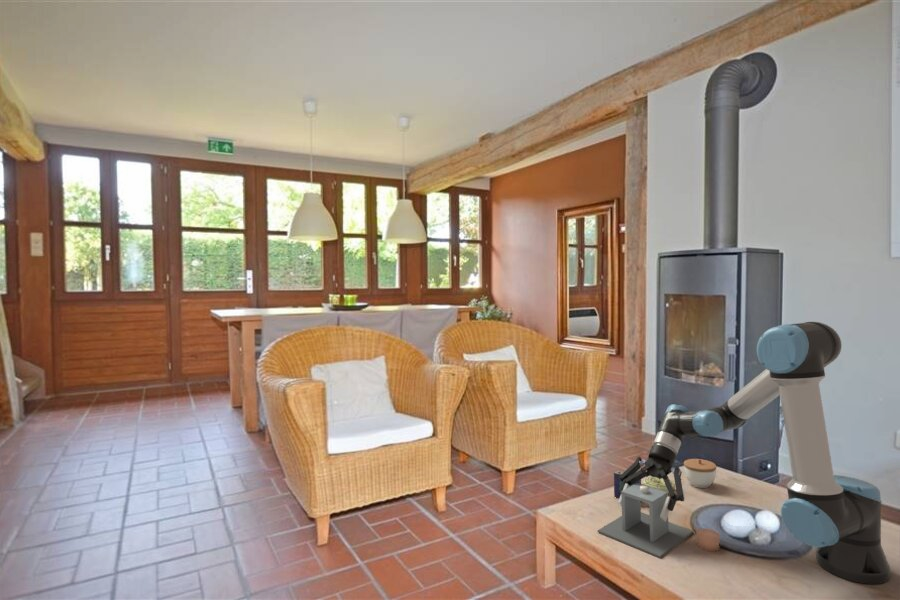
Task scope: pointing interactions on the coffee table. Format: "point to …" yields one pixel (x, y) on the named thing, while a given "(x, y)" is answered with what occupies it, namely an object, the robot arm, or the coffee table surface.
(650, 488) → the grey arch stand
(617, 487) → the flask
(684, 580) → the coffee table surface
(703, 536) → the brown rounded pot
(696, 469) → the lidded jar
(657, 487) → the decorated donut
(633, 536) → the mat
